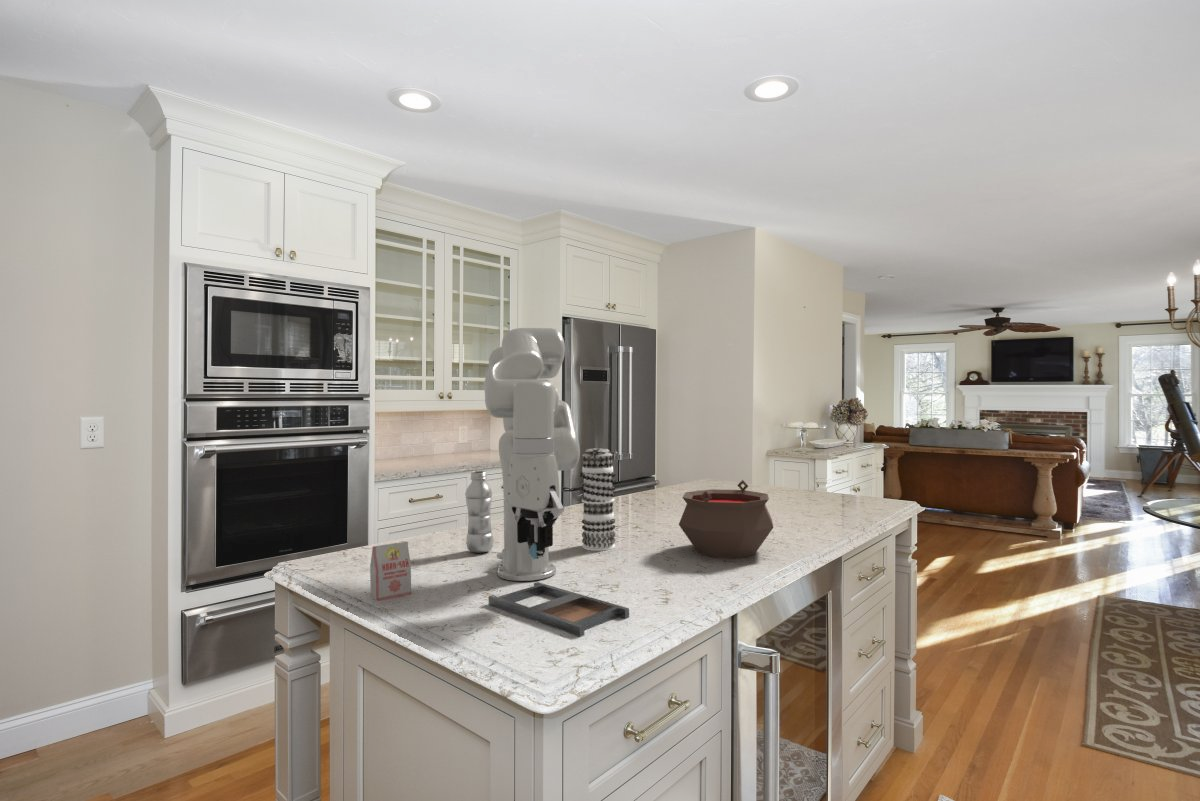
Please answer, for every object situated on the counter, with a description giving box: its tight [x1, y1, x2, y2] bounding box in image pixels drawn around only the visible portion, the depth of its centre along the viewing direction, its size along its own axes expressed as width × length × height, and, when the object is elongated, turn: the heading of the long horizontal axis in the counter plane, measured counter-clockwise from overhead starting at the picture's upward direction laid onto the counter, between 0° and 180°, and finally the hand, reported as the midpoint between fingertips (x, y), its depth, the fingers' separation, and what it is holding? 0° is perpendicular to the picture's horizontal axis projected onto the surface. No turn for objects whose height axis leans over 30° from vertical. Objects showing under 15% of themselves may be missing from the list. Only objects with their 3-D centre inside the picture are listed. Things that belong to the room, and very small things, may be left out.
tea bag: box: [369, 541, 412, 602], centre depth 124 cm, size 4×7×10 cm, turn 126°
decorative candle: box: [579, 447, 617, 552], centre depth 161 cm, size 9×9×25 cm
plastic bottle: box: [464, 470, 495, 554], centre depth 157 cm, size 6×7×20 cm
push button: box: [521, 507, 547, 559], centre depth 117 cm, size 7×5×10 cm
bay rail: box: [487, 581, 630, 638], centre depth 113 cm, size 24×12×2 cm, turn 47°
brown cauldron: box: [678, 479, 774, 559], centre depth 155 cm, size 24×24×16 cm
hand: (534, 543), depth 118 cm, fingers closed on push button, 5 cm apart
